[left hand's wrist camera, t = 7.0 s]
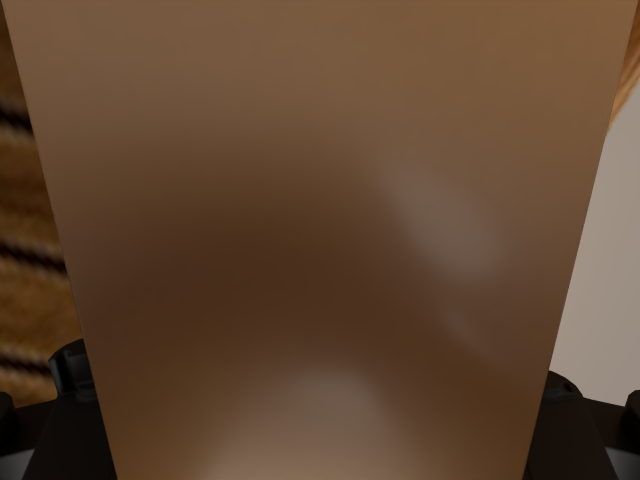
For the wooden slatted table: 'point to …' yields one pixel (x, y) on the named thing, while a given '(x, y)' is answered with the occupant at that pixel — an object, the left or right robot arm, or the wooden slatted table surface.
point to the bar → (319, 222)
